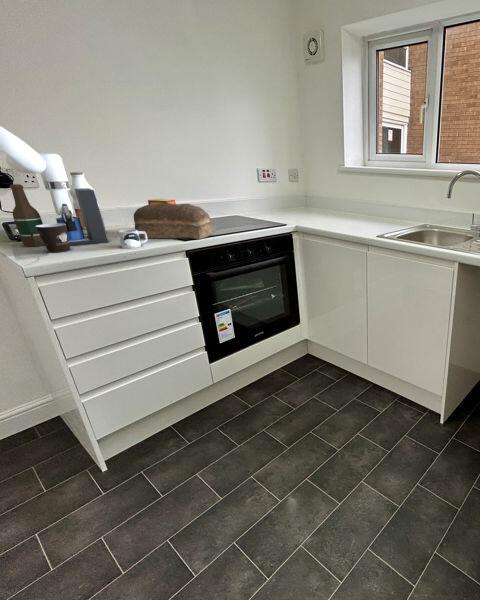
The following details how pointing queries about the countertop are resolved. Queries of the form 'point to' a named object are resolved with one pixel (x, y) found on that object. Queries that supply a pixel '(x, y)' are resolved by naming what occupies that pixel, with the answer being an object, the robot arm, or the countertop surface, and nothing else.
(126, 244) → the mug
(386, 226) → the countertop surface
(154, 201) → the baking soda box
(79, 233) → the blue cup
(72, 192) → the fruit juice
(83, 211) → the dark grey upright panel
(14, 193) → the beer bottle
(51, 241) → the coffee mug
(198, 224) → the bread
